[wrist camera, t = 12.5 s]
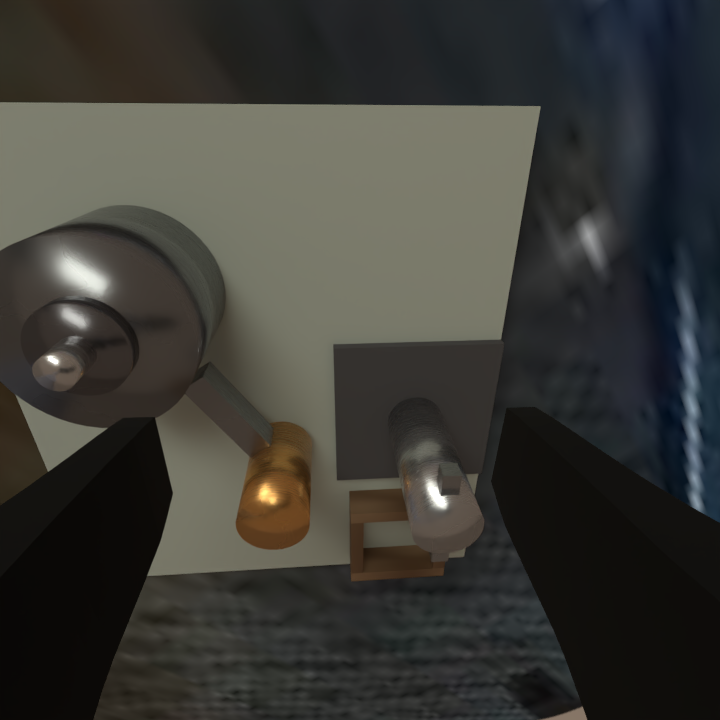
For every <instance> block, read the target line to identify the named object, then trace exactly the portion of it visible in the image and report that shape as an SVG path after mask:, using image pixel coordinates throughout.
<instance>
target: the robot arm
mask: <svg viewBox="0 0 720 720" xmlns="http://www.w3.org/2000/svg"><path fill="white" fill-rule="evenodd" d="M491 482H492V485H493V489H494V492H495V495H496V499H497V502H498V505H499V508H500V511H501V514H502V517H503V520H504V523H505V526H506V528H507V531H508V533H509V535H510V537H511V540H512V542H513V544H514V546H515V548H516V550H517V553H518V555H519V557H520V559H521V561H522V564H523V566H524V568H525V570H526V572H527V574H528V576H529V578H530V581H531V583H532V585H533V587H534V589H535V591H536V593H537V596H538V598H539V600H540V602H541V604H542V606H543V608H544V611H545V613H546V615H547V617H548V619H549V621H550V623H551V626H552V628H553V630H554V632H555V635H556V637H557V639H558V642H559V644H560V646H561V649H562V651H563V653H564V656H565V659H566V661H567V664H568V667H569V670H570V672H571V675H572V678H573V681H574V683H575V686H576V689H577V692H578V695H579V697H580V700H581V703H582V706H583V708H584V711H585V714H586V717H587V720H720V523H719V522H717V521H715V520H713V519H712V518H710V517H708V516H706V515H704V514H703V513H701V512H699V511H697V510H696V509H694V508H692V507H690V506H689V505H687V504H685V503H684V502H682V501H680V500H679V499H677V498H675V497H674V496H672V495H670V494H669V493H667V492H665V491H664V490H662V489H660V488H659V487H657V486H655V485H654V484H652V483H650V482H649V481H647V480H646V479H644V478H643V477H641V476H639V475H638V474H636V473H635V472H633V471H632V470H630V469H628V468H627V467H625V466H624V465H622V464H621V463H619V462H618V461H616V460H615V459H613V458H612V457H610V456H609V455H607V454H606V453H604V452H603V451H601V450H600V449H598V448H597V447H595V446H594V445H592V444H591V443H589V442H588V441H586V440H585V439H583V438H582V437H580V436H579V435H577V434H576V433H575V432H573V431H572V430H570V429H569V428H567V427H566V426H564V425H563V424H561V423H560V422H558V421H557V420H555V419H554V418H552V417H550V416H549V415H547V414H546V413H544V412H542V411H541V410H539V409H537V408H535V407H522V408H507V409H506V414H505V419H504V423H503V428H502V433H501V438H500V442H499V447H498V452H497V457H496V461H495V466H494V471H493V476H492V480H491ZM172 496H173V491H172V487H171V483H170V478H169V474H168V470H167V466H166V461H165V457H164V453H163V449H162V445H161V440H160V436H159V432H158V428H157V424H156V419H155V417H133V418H122V419H121V420H119V421H118V422H116V423H115V424H113V425H112V426H110V427H109V428H107V429H106V430H105V431H103V432H102V433H100V434H99V435H98V436H96V437H95V438H94V439H92V440H91V441H89V442H88V443H87V444H85V445H84V446H83V447H81V448H80V449H79V450H77V451H76V452H75V453H73V454H72V455H71V456H69V457H68V458H67V459H65V460H64V461H62V462H61V463H60V464H58V465H57V466H56V467H54V468H53V469H52V470H50V471H49V472H47V473H46V474H45V475H43V476H42V477H41V478H39V479H38V480H36V481H35V482H34V483H32V484H31V485H30V486H28V487H27V488H25V489H24V490H23V491H21V492H20V493H18V494H17V495H15V496H14V497H12V498H11V499H9V500H8V501H6V502H5V503H3V504H2V505H1V506H0V720H93V718H94V715H95V712H96V709H97V705H98V702H99V699H100V696H101V692H102V689H103V686H104V683H105V681H106V678H107V675H108V672H109V670H110V667H111V664H112V661H113V659H114V656H115V654H116V651H117V649H118V646H119V644H120V641H121V639H122V636H123V634H124V631H125V629H126V626H127V624H128V622H129V619H130V617H131V614H132V612H133V609H134V607H135V604H136V602H137V599H138V597H139V595H140V592H141V590H142V587H143V585H144V582H145V580H146V577H147V575H148V572H149V570H150V567H151V565H152V562H153V560H154V557H155V555H156V552H157V549H158V547H159V544H160V542H161V538H162V535H163V531H164V527H165V524H166V520H167V516H168V512H169V508H170V504H171V500H172Z"/></svg>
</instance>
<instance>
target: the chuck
mask: <svg viewBox="0 0 720 720" xmlns="http://www.w3.org/2000/svg"><path fill="white" fill-rule="evenodd" d="M225 301H226V294H225V285H224V280H223V276H222V274H221V271H220V268H219V266H218V264H217V262H216V260H215V258H214V256H213V255H212V253H211V252H210V250H209V249H208V247H207V246H206V245H205V244H204V243H203V241H202V240H201V239H200V238H199V237H198V236H197V235H196V234H195V233H194V232H193V231H191V230H190V229H189V228H187V227H186V226H185V225H183V224H182V223H181V222H179V221H177V220H176V219H174V218H172V217H170V216H168V215H166V214H164V213H161V212H159V211H156V210H153V209H150V208H146V207H140V206H135V205H114V206H108V207H103V208H99V209H97V210H94V211H91V212H89V213H86V214H84V215H82V216H79V217H77V218H74V219H72V220H69V221H67V222H65V223H62V224H60V225H57V226H55V227H52V228H50V229H48V230H45V231H43V232H40V233H38V234H36V235H33V236H31V237H28V238H26V239H23V240H21V241H19V242H16V243H14V244H11V245H9V246H7V247H6V248H4V249H2V250H0V381H1V382H2V383H3V384H4V385H5V386H6V387H7V388H8V389H9V390H10V391H12V392H13V393H14V394H16V395H17V396H18V397H19V398H21V399H22V400H24V401H25V402H27V403H28V404H30V405H31V406H33V407H35V408H37V409H38V410H40V411H42V412H44V413H46V414H48V415H51V416H53V417H56V418H58V419H61V420H64V421H67V422H71V423H74V424H78V425H83V426H88V427H98V428H109V427H110V426H112V425H113V424H115V423H116V422H118V421H119V420H121V419H122V418H133V417H155V418H157V417H159V416H161V415H162V414H164V413H165V412H167V411H168V410H170V409H171V408H172V407H173V406H174V405H176V404H177V403H178V402H179V400H180V399H181V398H182V397H183V396H184V394H185V393H186V391H187V389H188V388H189V386H190V384H191V382H192V380H193V378H194V376H195V374H196V372H197V370H198V368H199V366H200V364H201V362H202V360H203V358H204V356H205V354H206V352H207V350H208V348H209V346H210V343H211V341H212V339H213V337H214V335H215V333H216V331H217V329H218V327H219V325H220V323H221V320H222V318H223V314H224V310H225Z"/></svg>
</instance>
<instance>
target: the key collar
mask: <svg viewBox="0 0 720 720" xmlns="http://www.w3.org/2000/svg"><path fill="white" fill-rule="evenodd" d="M349 519H350V567H351V581H364V580H380V579H396V578H412V577H427V576H443V573H444V566H445V561H441V562H431V559H430V555H429V552H428V551H425V550H423V549H421V548H420V547H419V546H417V545H408V546H391V547H373V548H363V539H364V523H371V522H390V521H408V515H407V510H406V506H405V501H404V497H403V492H402V488H398V489H378V490H358V491H349Z"/></svg>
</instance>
